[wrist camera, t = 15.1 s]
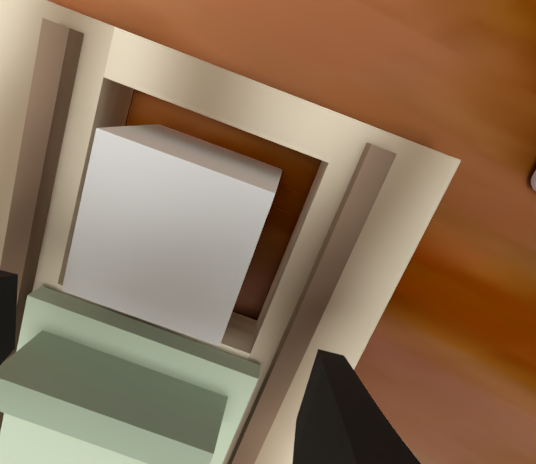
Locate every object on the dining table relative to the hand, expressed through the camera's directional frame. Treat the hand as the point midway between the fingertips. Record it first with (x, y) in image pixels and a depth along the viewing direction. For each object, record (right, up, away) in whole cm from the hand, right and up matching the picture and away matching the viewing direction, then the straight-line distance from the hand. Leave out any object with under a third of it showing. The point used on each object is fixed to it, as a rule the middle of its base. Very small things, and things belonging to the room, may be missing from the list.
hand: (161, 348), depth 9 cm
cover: (-3, -5, +6) cm, 9 cm away
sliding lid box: (-1, 0, +8) cm, 8 cm away
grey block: (0, +4, +7) cm, 8 cm away
